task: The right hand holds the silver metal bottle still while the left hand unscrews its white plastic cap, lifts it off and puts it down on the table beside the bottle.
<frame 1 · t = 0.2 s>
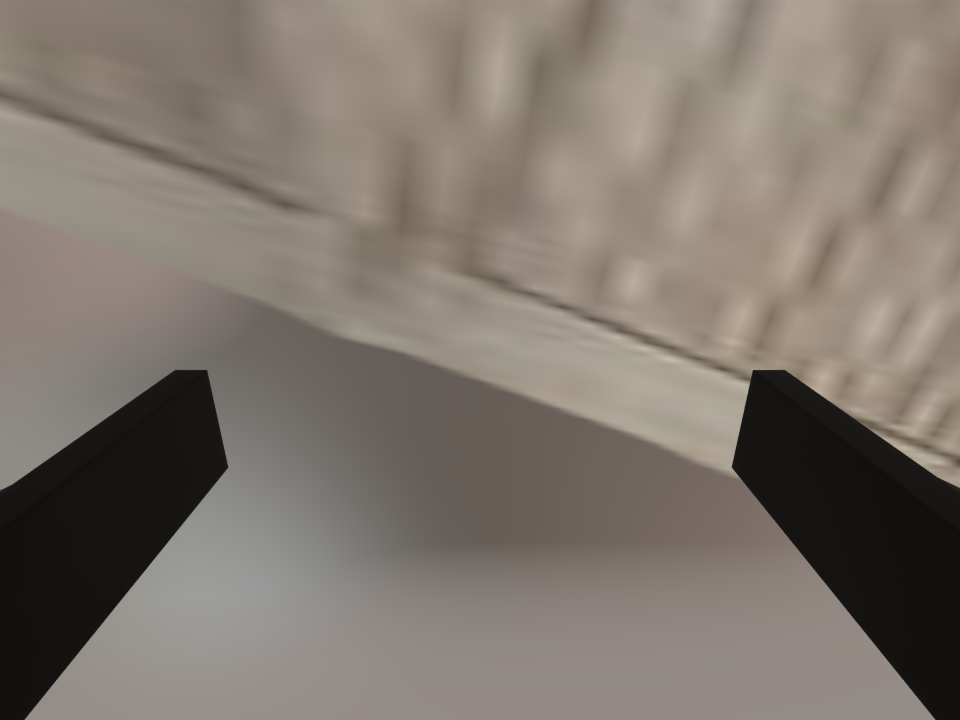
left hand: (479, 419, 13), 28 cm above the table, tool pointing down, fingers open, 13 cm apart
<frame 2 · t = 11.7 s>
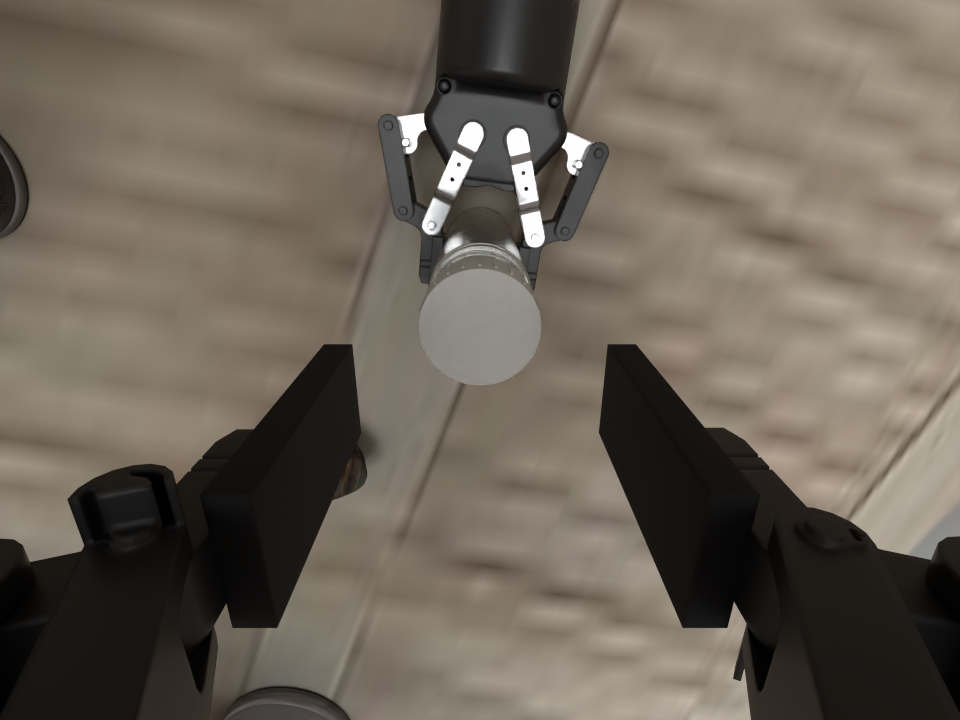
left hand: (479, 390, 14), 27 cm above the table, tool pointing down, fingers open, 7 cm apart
right hand: (475, 294, 34), fingers closed on bottle, 5 cm apart
seashell: (324, 437, 46), on the table
bottle: (479, 240, 39), on the table, touching right hand
cap: (479, 327, 19), point 21 cm above the table, screwed on, not yet turned
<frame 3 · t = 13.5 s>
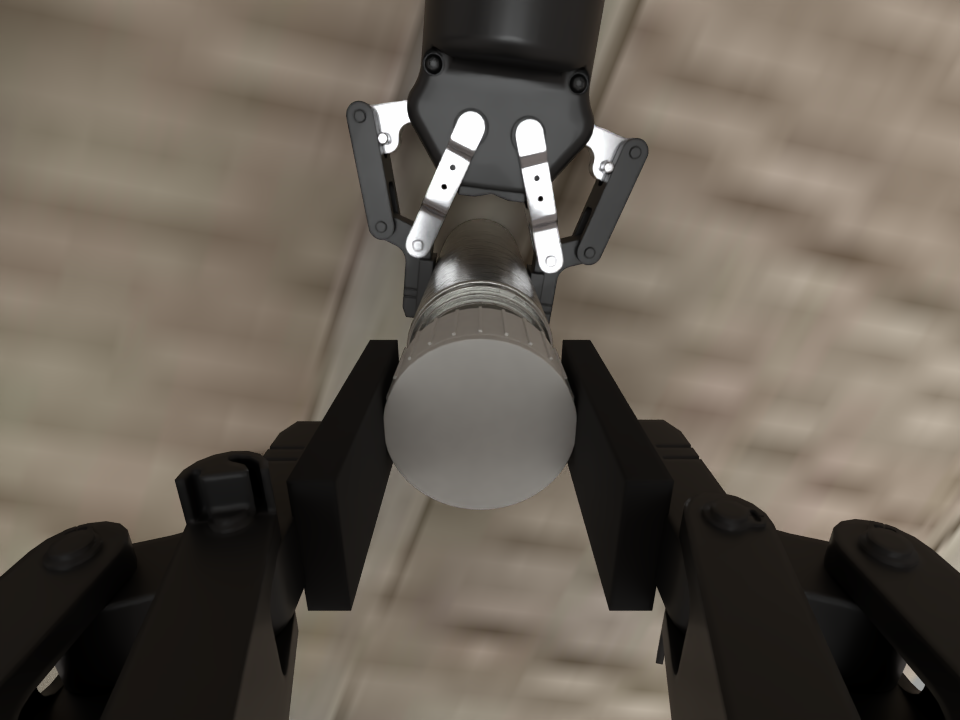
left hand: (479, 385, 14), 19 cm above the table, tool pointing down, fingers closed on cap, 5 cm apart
right hand: (474, 329, 27), fingers closed on bottle, 5 cm apart
bottle: (480, 258, 32), on the table, touching right hand
cap: (480, 424, 12), point 21 cm above the table, screwed on, not yet turned, touching left hand
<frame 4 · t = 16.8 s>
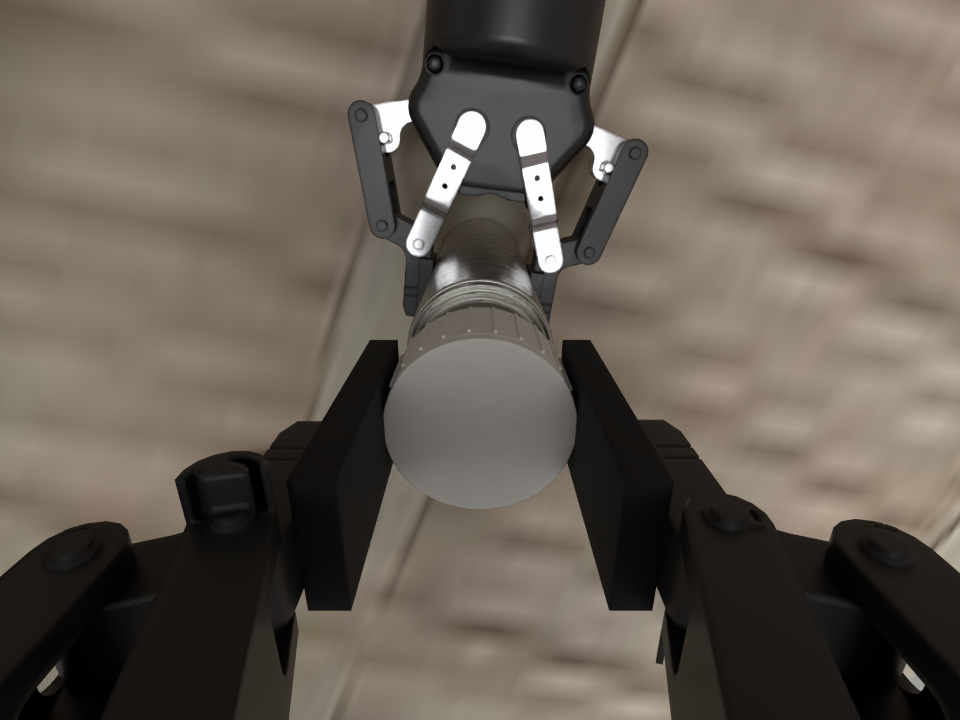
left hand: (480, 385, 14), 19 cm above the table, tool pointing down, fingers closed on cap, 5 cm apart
right hand: (474, 328, 27), fingers closed on bottle, 5 cm apart
bottle: (480, 257, 32), on the table, touching right hand
cap: (480, 424, 12), point 22 cm above the table, turned 112° so far, risen 0.1 cm, still on its thread, touching left hand
when the left hand's fingers open (2 cm above the table, at t = 30.0 s): cap drops 2 cm, point 2 cm above the table.
when the right hand's fingers open (7 cm above the table, at t = 31.3 s): bottle stays where it is, on the table.
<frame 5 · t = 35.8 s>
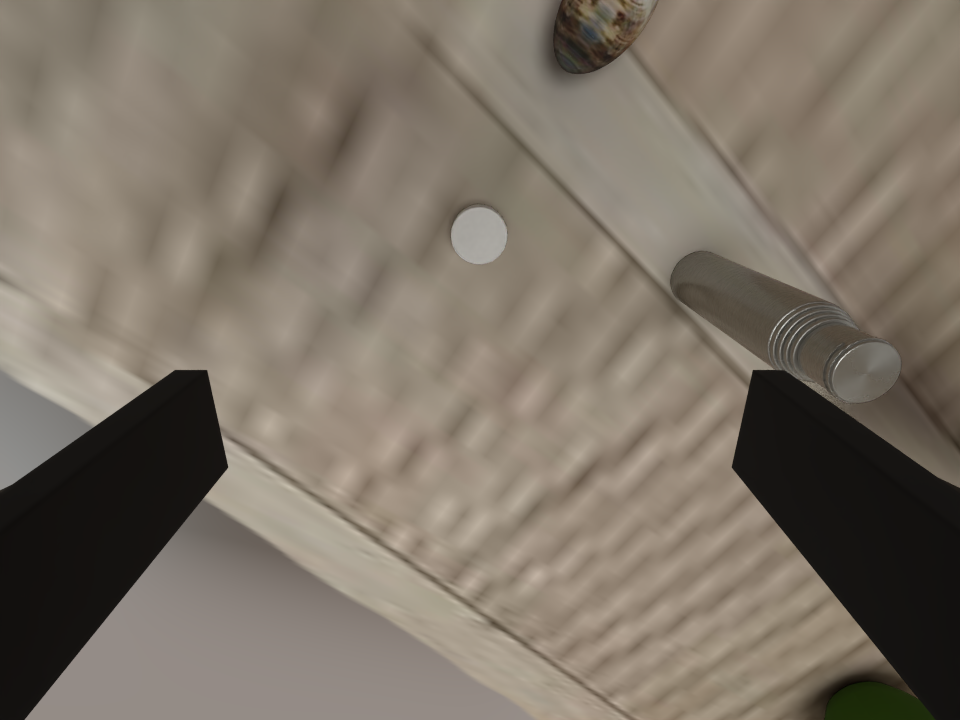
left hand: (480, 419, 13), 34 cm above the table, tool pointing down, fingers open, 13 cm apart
seashell: (595, 20, 38), on the table
bottle: (697, 278, 45), on the table
vase: (857, 699, 66), on the table
cap: (479, 235, 42), point 2 cm above the table, off its thread
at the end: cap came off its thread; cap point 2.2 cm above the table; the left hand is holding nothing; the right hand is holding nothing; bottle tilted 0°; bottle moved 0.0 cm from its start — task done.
